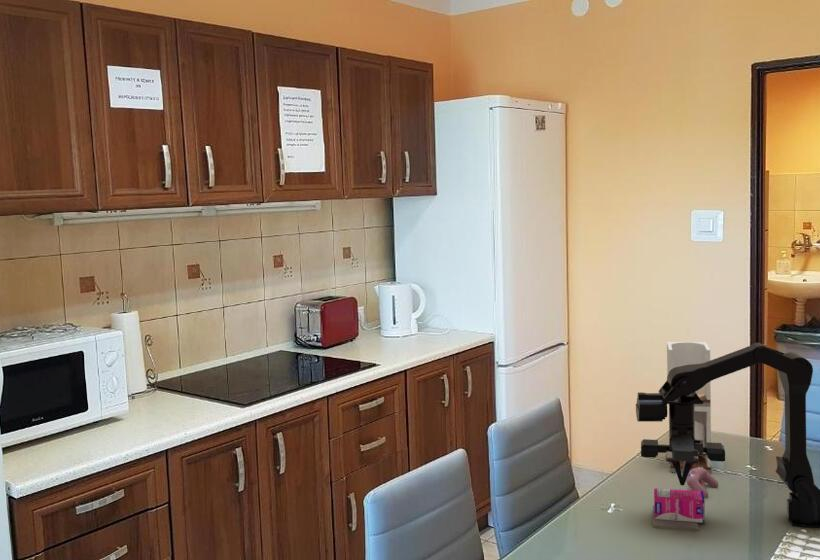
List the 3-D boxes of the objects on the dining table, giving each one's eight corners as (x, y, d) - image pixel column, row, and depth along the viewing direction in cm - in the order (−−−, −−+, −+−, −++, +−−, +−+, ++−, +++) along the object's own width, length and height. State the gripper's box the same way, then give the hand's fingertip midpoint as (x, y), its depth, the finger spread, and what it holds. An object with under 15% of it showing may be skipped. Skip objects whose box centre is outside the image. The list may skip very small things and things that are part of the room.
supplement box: (705, 523, 180) (654, 520, 184) (704, 513, 186) (654, 510, 190) (704, 499, 180) (653, 496, 183) (703, 490, 185) (653, 487, 189)
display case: (668, 458, 227) (666, 341, 223) (707, 460, 224) (706, 342, 220) (670, 472, 216) (669, 349, 212) (711, 474, 213) (710, 349, 209)
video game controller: (705, 490, 206) (692, 465, 208) (720, 485, 203) (708, 460, 205) (692, 502, 199) (680, 476, 200) (708, 497, 196) (695, 471, 197)
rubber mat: (695, 510, 189) (695, 508, 189) (698, 531, 178) (698, 528, 178) (653, 507, 192) (652, 505, 192) (653, 527, 181) (653, 525, 181)
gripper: (640, 429, 177) (641, 494, 179) (727, 433, 172) (727, 500, 173) (640, 416, 188) (641, 477, 190) (722, 419, 182) (723, 482, 184)
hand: (682, 484), depth 184 cm, fingers closed
